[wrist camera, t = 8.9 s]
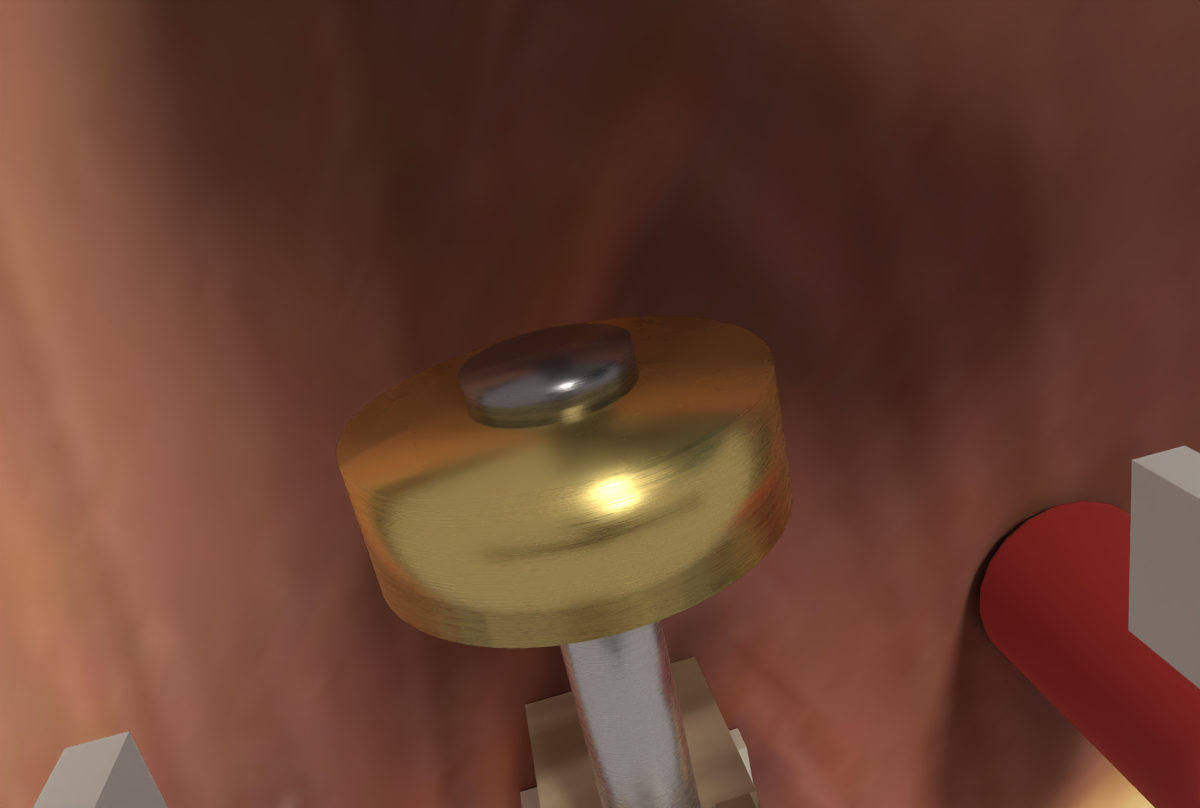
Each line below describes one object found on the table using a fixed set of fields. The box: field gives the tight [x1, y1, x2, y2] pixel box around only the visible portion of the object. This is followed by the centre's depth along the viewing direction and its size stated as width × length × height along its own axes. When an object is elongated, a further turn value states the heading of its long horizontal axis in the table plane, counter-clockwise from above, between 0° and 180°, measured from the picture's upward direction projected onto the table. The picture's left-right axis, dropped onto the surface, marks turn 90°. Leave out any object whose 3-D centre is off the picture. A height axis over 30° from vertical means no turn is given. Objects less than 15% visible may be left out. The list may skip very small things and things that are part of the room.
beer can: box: [980, 501, 1200, 808], centre depth 28 cm, size 7×7×12 cm
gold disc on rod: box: [336, 316, 793, 808], centre depth 22 cm, size 18×9×9 cm, turn 11°
